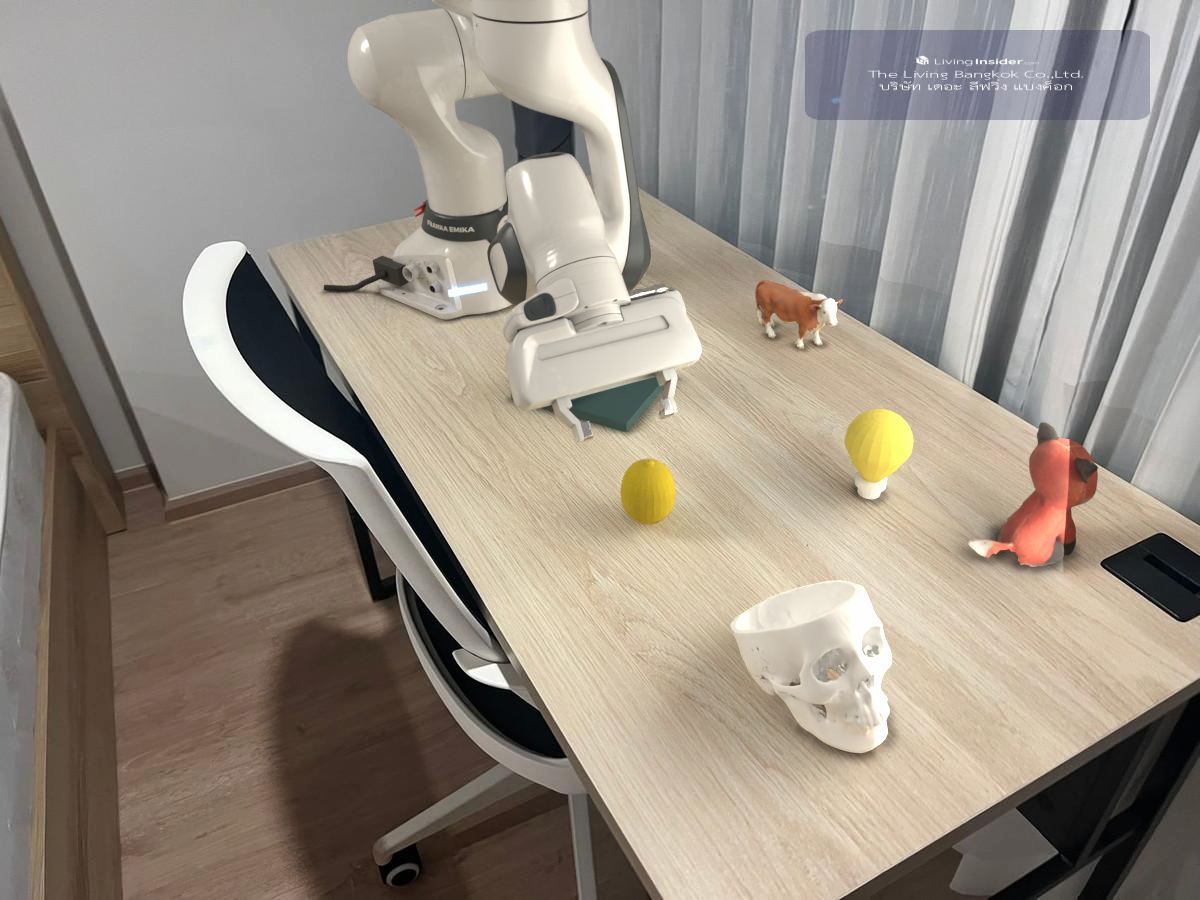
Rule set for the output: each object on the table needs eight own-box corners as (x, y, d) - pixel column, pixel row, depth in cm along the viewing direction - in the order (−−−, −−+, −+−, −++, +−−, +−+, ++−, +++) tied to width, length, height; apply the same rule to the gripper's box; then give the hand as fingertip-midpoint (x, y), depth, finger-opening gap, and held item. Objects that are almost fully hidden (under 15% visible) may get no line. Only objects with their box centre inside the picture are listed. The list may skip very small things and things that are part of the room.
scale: (508, 403, 111) (505, 382, 109) (563, 351, 121) (562, 331, 119) (623, 436, 105) (623, 415, 103) (672, 378, 114) (672, 358, 112)
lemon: (671, 543, 90) (672, 481, 85) (616, 537, 91) (615, 475, 86) (678, 507, 94) (680, 446, 90) (626, 502, 95) (625, 441, 91)
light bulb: (824, 482, 97) (835, 406, 91) (875, 466, 99) (890, 389, 93) (862, 520, 92) (876, 441, 86) (915, 501, 94) (933, 423, 88)
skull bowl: (844, 790, 66) (797, 638, 65) (739, 735, 79) (698, 607, 77) (945, 724, 70) (904, 580, 69) (830, 682, 83) (793, 560, 81)
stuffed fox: (944, 539, 89) (970, 442, 82) (1032, 508, 93) (1065, 412, 85) (998, 589, 84) (1031, 490, 76) (1090, 554, 87) (1130, 456, 80)
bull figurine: (825, 365, 116) (833, 309, 111) (746, 328, 124) (750, 274, 119) (846, 353, 118) (854, 297, 113) (766, 317, 126) (771, 264, 121)
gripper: (665, 290, 98) (706, 409, 97) (487, 333, 92) (528, 461, 91) (686, 268, 92) (730, 395, 91) (497, 313, 86) (541, 449, 85)
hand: (628, 428), depth 91 cm, fingers open, 8 cm apart
